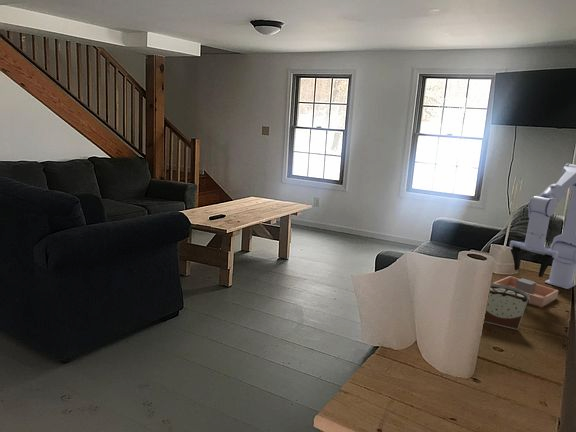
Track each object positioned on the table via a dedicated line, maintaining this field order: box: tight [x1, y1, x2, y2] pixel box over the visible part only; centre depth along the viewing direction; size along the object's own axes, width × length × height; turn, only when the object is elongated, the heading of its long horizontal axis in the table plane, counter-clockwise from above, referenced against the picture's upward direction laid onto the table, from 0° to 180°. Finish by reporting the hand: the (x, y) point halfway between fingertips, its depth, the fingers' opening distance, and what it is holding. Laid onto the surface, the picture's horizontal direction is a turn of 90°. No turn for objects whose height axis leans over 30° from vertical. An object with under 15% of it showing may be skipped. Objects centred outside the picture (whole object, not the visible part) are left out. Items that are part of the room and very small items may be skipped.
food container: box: [483, 283, 531, 331], centre depth 132 cm, size 12×6×10 cm, turn 65°
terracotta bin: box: [492, 275, 559, 308], centre depth 157 cm, size 14×16×3 cm
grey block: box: [516, 277, 537, 295], centre depth 157 cm, size 4×4×4 cm
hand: (528, 272), depth 156 cm, fingers open, 7 cm apart
